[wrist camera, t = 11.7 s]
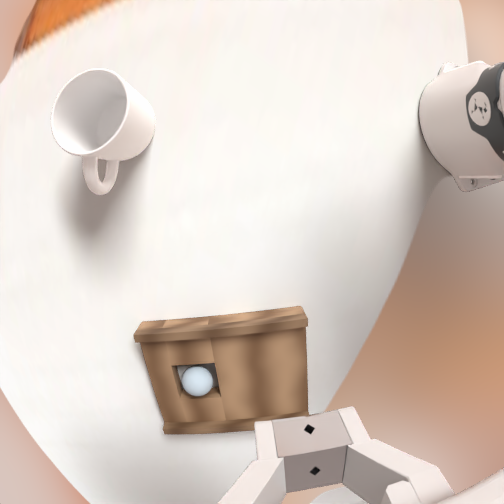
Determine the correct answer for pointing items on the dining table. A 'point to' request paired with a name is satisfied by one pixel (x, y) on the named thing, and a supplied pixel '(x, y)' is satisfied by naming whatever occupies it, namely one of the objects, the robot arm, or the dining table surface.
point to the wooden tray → (229, 369)
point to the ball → (197, 381)
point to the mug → (101, 123)
